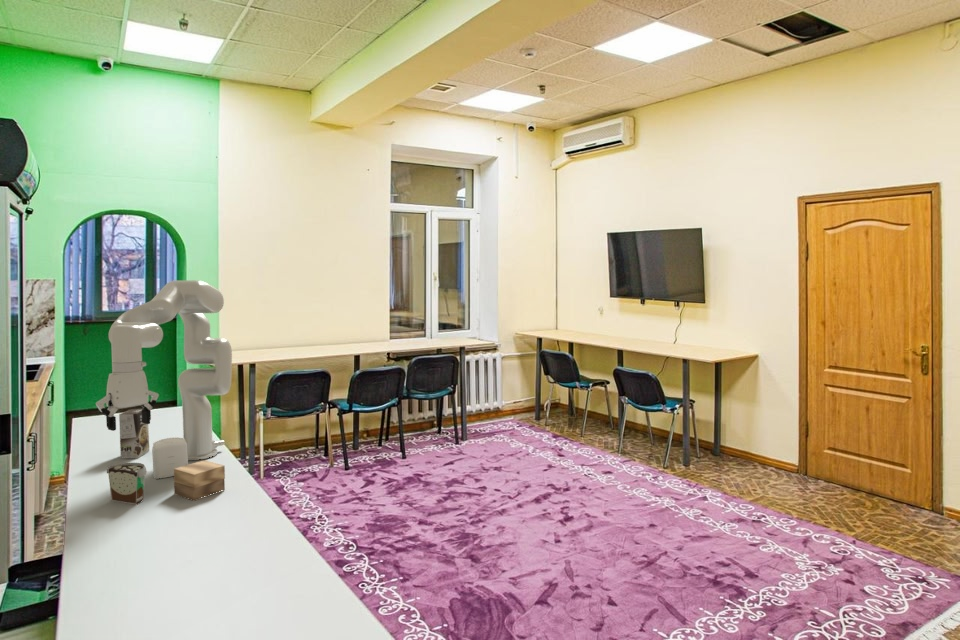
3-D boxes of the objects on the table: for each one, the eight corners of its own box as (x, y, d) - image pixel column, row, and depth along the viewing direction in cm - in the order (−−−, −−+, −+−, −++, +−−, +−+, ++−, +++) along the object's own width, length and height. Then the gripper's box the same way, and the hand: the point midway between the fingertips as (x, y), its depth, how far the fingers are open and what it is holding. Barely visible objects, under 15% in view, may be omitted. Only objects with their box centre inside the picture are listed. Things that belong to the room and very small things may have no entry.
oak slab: (204, 472, 195) (204, 460, 194) (224, 478, 189) (224, 465, 189) (174, 481, 186) (173, 468, 186) (194, 488, 181) (194, 474, 181)
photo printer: (154, 480, 199) (152, 442, 198) (152, 476, 202) (151, 439, 201) (189, 474, 204) (188, 437, 204) (187, 471, 208) (186, 434, 207)
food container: (158, 497, 183) (156, 464, 183) (140, 505, 177) (138, 470, 177) (126, 493, 187) (124, 460, 187) (107, 500, 182) (106, 466, 181)
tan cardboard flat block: (205, 485, 195) (204, 473, 195) (224, 491, 189) (224, 479, 189) (174, 495, 187) (174, 482, 186) (194, 501, 181) (193, 488, 181)
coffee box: (138, 458, 222) (137, 413, 221) (120, 458, 222) (118, 414, 220) (150, 451, 231) (148, 408, 230) (132, 451, 231) (130, 408, 230)
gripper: (150, 363, 189) (151, 419, 190) (88, 370, 174) (91, 430, 175) (163, 365, 185) (165, 422, 186) (102, 372, 170) (104, 434, 171)
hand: (129, 426), depth 180 cm, fingers open, 9 cm apart
